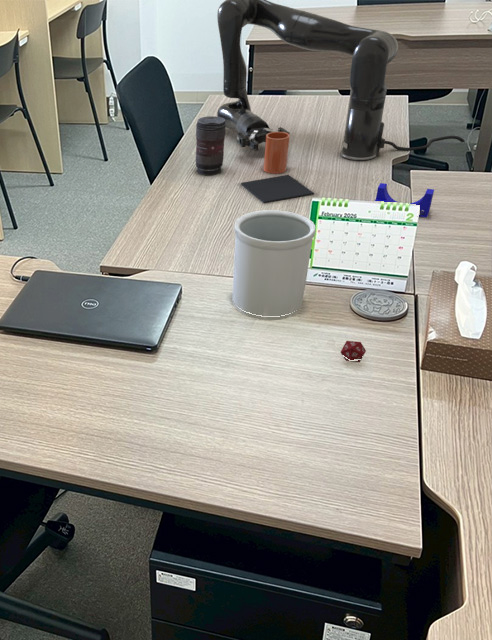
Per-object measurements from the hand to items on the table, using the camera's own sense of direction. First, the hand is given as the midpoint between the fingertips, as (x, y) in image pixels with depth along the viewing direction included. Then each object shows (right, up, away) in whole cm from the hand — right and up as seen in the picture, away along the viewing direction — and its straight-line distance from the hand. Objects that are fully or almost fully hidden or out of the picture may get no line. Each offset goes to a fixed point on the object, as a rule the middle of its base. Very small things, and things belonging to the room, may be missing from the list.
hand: (271, 145), depth 202 cm
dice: (-9, -59, -75) cm, 96 cm away
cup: (+1, -7, 0) cm, 7 cm away
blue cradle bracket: (+22, -25, -29) cm, 44 cm away
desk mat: (-2, -15, -11) cm, 19 cm away
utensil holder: (-19, -48, -57) cm, 77 cm away
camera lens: (-17, -7, +4) cm, 19 cm away
